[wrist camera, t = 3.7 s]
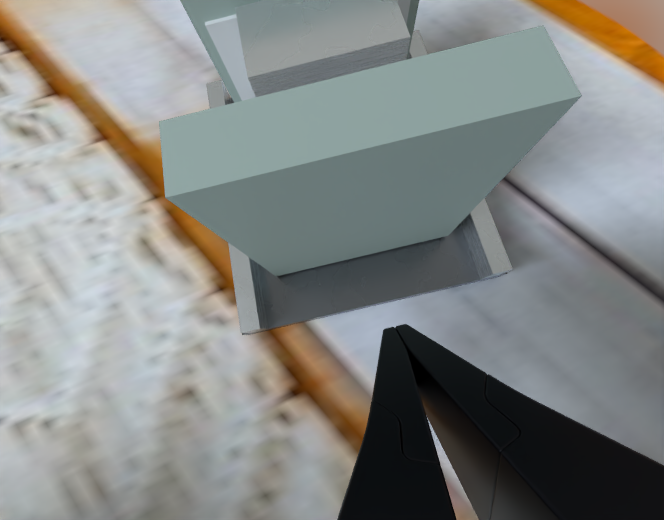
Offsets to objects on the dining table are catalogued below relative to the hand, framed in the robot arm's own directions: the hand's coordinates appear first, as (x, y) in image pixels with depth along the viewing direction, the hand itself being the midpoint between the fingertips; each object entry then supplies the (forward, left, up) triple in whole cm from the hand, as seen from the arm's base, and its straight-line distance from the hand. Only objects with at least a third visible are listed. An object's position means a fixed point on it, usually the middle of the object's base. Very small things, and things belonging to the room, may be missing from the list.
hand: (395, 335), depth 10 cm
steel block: (+10, -5, -6) cm, 13 cm away
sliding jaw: (+5, -3, -5) cm, 8 cm away
